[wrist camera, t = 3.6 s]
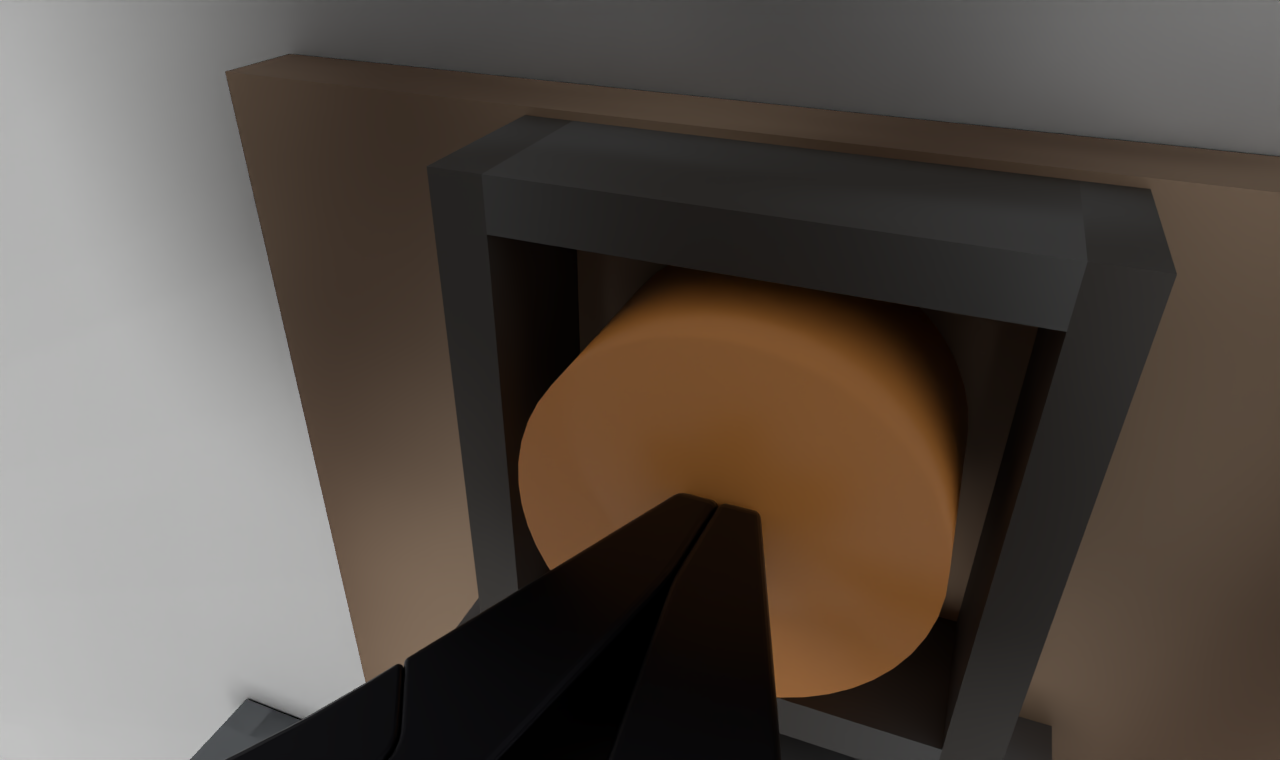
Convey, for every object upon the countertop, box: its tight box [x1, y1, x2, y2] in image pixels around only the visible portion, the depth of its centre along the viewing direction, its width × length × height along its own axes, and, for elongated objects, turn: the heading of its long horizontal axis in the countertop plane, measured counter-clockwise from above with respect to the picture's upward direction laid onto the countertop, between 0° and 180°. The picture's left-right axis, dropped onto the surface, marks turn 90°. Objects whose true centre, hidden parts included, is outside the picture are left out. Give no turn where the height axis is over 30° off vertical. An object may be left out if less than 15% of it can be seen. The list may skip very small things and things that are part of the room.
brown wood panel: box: [225, 54, 1280, 760], centre depth 12 cm, size 15×16×4 cm
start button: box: [518, 265, 968, 698], centre depth 10 cm, size 4×4×2 cm
